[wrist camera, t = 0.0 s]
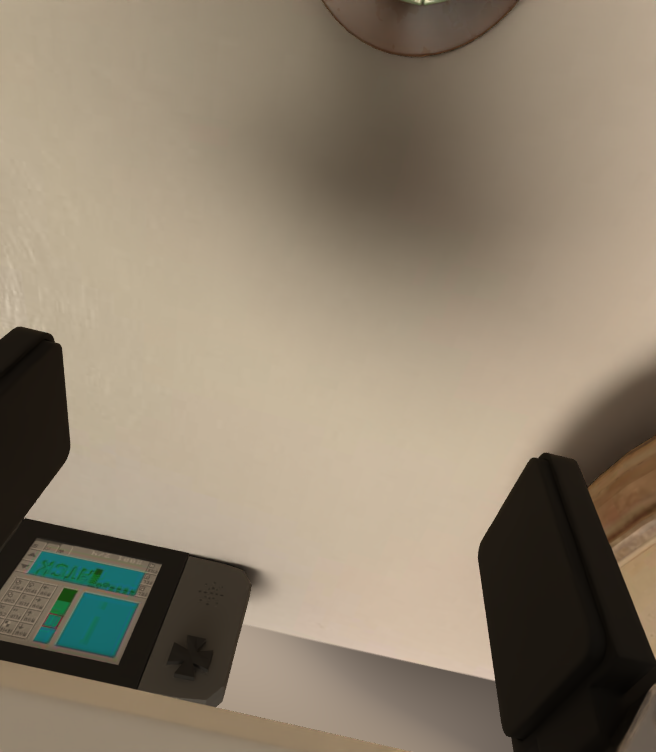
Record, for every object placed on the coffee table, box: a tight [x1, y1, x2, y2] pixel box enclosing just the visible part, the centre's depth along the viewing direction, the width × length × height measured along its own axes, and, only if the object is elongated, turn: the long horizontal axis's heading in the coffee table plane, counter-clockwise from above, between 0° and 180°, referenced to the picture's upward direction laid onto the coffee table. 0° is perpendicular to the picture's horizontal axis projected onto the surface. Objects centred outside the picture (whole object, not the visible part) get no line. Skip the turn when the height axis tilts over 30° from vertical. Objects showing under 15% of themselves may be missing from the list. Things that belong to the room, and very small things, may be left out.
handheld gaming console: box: [0, 519, 251, 707], centre depth 37 cm, size 23×3×10 cm, turn 80°
